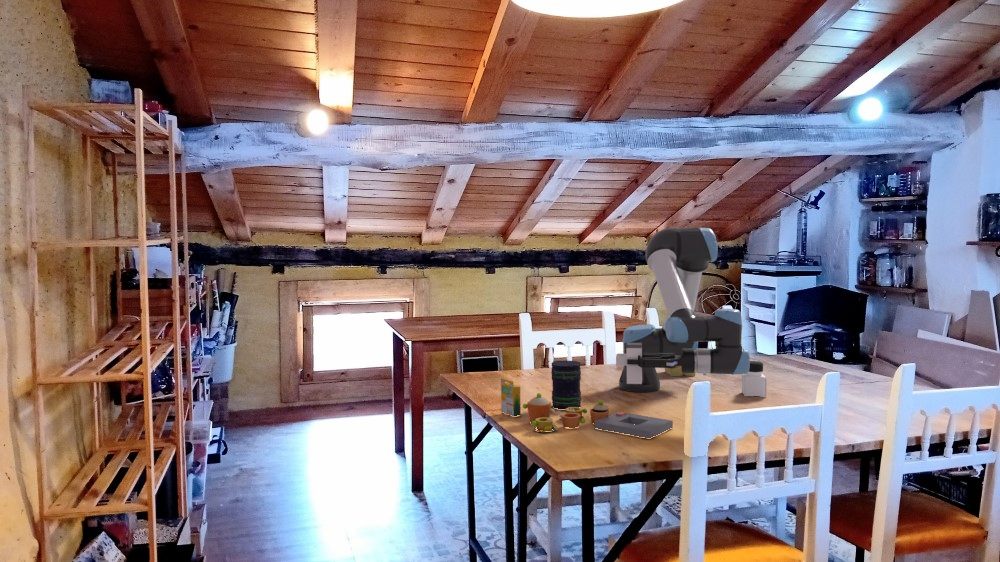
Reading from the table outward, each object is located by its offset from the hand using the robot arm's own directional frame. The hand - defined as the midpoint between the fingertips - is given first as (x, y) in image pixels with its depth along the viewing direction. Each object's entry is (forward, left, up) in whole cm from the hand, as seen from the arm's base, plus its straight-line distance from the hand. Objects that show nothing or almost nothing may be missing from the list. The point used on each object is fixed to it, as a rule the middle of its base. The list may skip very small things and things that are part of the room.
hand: (616, 359), depth 212 cm
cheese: (-16, +76, -19) cm, 80 cm away
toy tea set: (-9, -14, -19) cm, 26 cm away
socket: (+10, -7, -19) cm, 22 cm away
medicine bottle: (+22, +56, -19) cm, 63 cm away
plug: (+5, +2, -7) cm, 9 cm away
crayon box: (-30, -16, -19) cm, 39 cm away
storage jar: (-21, +3, -19) cm, 29 cm away
